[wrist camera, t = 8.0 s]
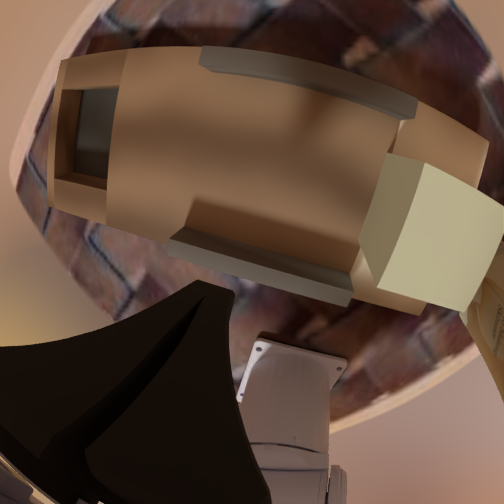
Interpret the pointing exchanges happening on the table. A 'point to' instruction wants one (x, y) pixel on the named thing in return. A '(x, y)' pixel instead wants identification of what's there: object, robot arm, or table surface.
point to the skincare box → (489, 318)
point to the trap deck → (243, 160)
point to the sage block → (429, 233)
